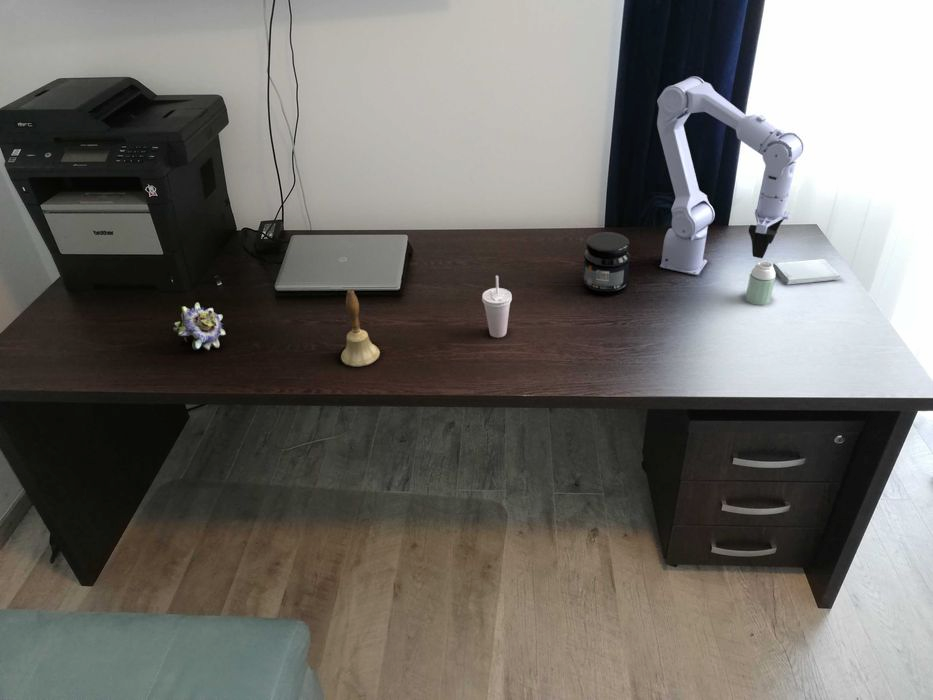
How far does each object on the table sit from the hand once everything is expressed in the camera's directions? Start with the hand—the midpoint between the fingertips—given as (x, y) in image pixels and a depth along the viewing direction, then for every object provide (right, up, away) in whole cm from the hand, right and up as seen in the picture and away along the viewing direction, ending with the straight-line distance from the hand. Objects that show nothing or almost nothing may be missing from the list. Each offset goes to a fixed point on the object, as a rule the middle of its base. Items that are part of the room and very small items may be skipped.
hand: (762, 249), depth 161 cm
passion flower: (-126, -21, 0) cm, 128 cm away
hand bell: (-89, -24, -7) cm, 93 cm away
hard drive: (+14, -5, +10) cm, 18 cm away
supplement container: (-33, -7, +11) cm, 36 cm away
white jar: (0, -6, -1) cm, 6 cm away
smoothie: (-59, -19, -3) cm, 63 cm away
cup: (0, -11, +3) cm, 11 cm away
